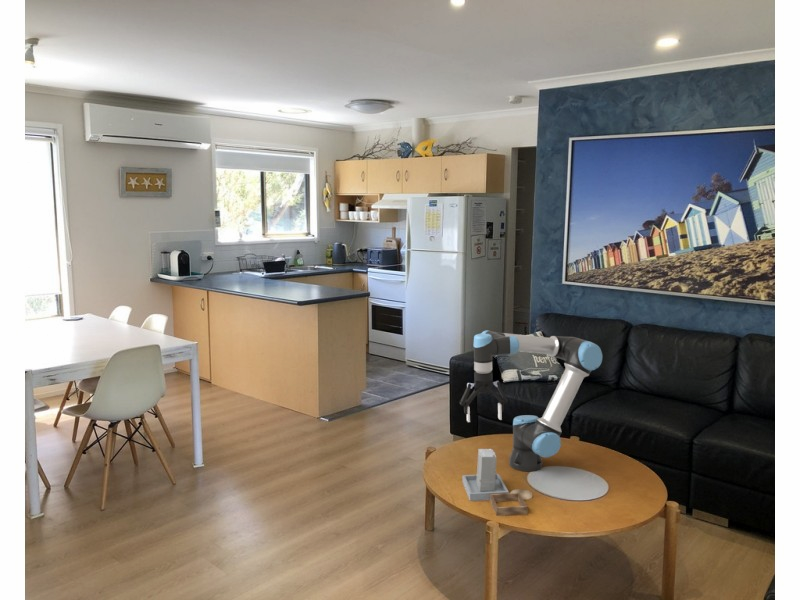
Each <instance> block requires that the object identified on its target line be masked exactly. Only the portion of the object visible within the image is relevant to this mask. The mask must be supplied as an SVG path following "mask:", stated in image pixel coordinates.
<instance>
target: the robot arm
mask: <svg viewBox="0 0 800 600" xmlns="http://www.w3.org/2000/svg"><path fill="white" fill-rule="evenodd" d="M472 347H473V364H474V365H473V370H474V372H473V374H474V376H473V377H474V379H473V383H471V382H467V383H466V388H465V390H464V392H463V394H462V397H461V399H460V400H459V405H460V406H461V407H463V412H464V414H465V415H466V422H467V423H471V415H470V414H471V411H470V404H471V403H472V401H474V399H475V398H476V397H477V396H478V395H479V394H489V393H490V394H492V396H493V397H494V398H495V399H496V400H497V401H498V403H497V418H498V420H500V421H502V420H503V419H502V418H503V417H502V412H504V411H505V410H504V409H505V408H504V407H505V406H504V405H505V404H506V403H507V404H508V402H509V400H508V398H507V396H506V394H505V392H504V391H503V389H502V387H501V382H500V381H499V380H497V379H496V381H493V357H497V356H499V357H500V356H508V355H510V356H511V355H514V354H515V355H516V354H517V353H518V352H519V353H520V352H521V353H522V352H523V353H530V354H531V353H532V354H539V355H540V354H541V355H548V356H549V357H550V358H556V359H561V360H563V361H564V363H563V364H564V367H565V368H564V371H563V374H562V375H561V378H560V380H559V382H558V384H557V385H556V388H555V390H554V392H553V394H552V396H551V398H550V400H549V402H548V404H547V406H546V409H545V410H544V412H543V414H542V415H541V416H542V417H538V416H537V415H531V414H527V415H526V414H525V415H518V416H515V417H514V418H513V420H512V449H511V453H510V455H509V458H508V465H509V466H510V467H511V468H512V469H514V470H517V471H521V472H534V471H539V470H541V469H542V468H543V459H542V458H550V457H553V456H555V455H556V454H558V452H559V450H560V449H561V446H562V440H561V437H560V436H561V434H562V428H561V425H562V424H563V422H564V420H565V418H566V416H567V413H569V409H570V407H571V406H572V403H573V401H574V400H575V397H576V395H577V393H578V391H579V389H580V386H581V385H582V382H583V380H584V379H585V378H586V377H589V376H590V374H591V372H592V371H595V370H596V369H599V367H600V366H601V364H602V362H603V352H602V350H601V349H602V348H601V347H600V346H599V345H598V344H596V343H594V342H593V341H588V340H585V339H582V338H580V337H575V336H561V335H560V336H557V335H551V336H550V337H547V336H536V335H535V336H534V335H526V334H515V333H507V332H506V333H505V332H496V331H493V330H488V329H487V330H483V331H482V332H481V333H477V334H475V335H474V336H473V346H472ZM473 387H474V389H473ZM493 387H495V388H497V390H498V392H499V394H500V396H501V398H502V399H501V398H500V397H499V395H498V394H497V393H496V391H494V390H493ZM471 389H473V391H472V393H471V394H470V391H471Z"/></svg>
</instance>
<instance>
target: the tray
mask: <svg viewBox="0 0 800 600" xmlns="http://www.w3.org/2000/svg"><path fill="white" fill-rule="evenodd" d="M461 476H462V485H463V487H464V489H465V492H466V494H467V498H468V499H469V501H470V502H475V501H476V502H477V501H490V494H502V493H510V492H509V490H508V488H507V486H506V484H505V482H504V481H503V479H502V477H501V475H500V474H499V473H496V477H495V491H493V492H480V490H479V488H478V486H477V484H476V480H477V474H463V475H461Z"/></svg>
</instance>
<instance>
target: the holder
mask: <svg viewBox="0 0 800 600" xmlns="http://www.w3.org/2000/svg"><path fill="white" fill-rule="evenodd" d="M516 501H517V502H518V504H519V505H516V506H514V505H513V506H498V504H497V503H498V502H516ZM489 503H490V504H491V507H492V509H493V511H494V513H495V515H496V516H512V515H513V516H514V515H515V516H516V515H528V505H527V503H526V502H525V500H523V498H522V496H521V495H520V493H510V492H509V493H502V494H490V500H489Z"/></svg>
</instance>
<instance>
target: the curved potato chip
mask: <svg viewBox="0 0 800 600" xmlns="http://www.w3.org/2000/svg"><path fill="white" fill-rule="evenodd" d="M509 493H520V495H521V496H522V498H523V500H524V501H528V500H531V499H532V498H533V497H534V496H533V492H531V491H530V490H528V489H522V488H517V489H513V490H511V491H510V492H509Z"/></svg>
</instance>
